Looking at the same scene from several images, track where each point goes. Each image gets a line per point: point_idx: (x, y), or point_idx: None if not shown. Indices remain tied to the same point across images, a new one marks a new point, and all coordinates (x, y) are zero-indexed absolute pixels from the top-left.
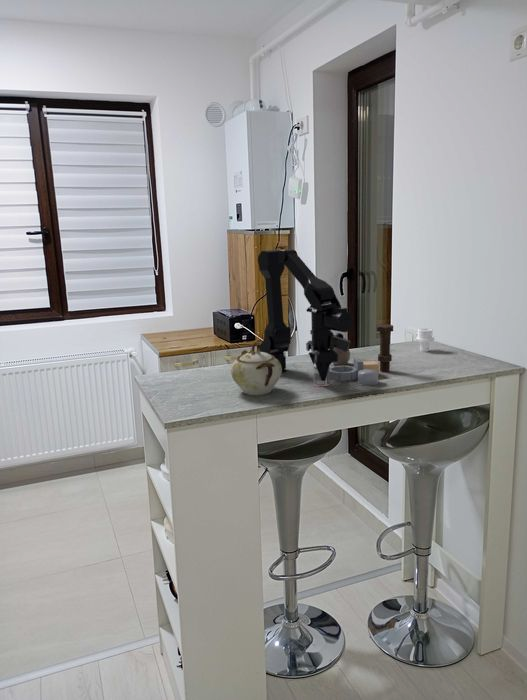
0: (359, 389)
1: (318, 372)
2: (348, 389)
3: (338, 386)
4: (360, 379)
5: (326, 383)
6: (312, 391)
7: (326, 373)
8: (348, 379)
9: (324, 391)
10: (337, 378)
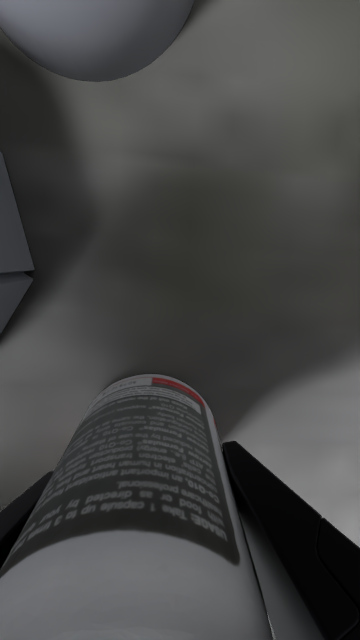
0: (345, 94)
1: (264, 596)
2: (327, 211)
3: (220, 297)
4: (152, 8)
5: (205, 408)
6: (335, 494)
7: (292, 496)
8: (4, 179)
9: (351, 414)
10: (11, 298)
